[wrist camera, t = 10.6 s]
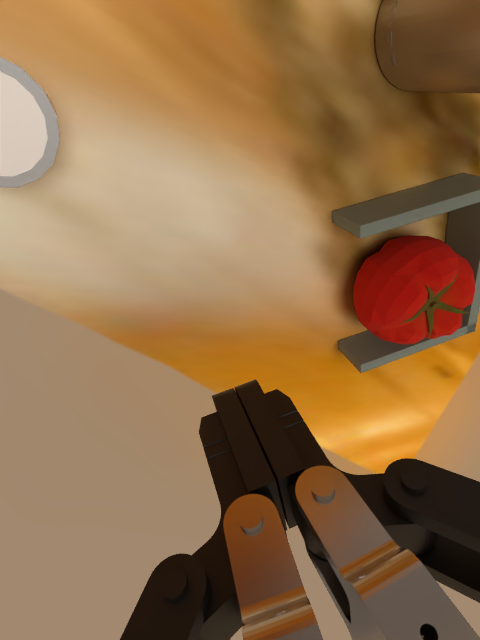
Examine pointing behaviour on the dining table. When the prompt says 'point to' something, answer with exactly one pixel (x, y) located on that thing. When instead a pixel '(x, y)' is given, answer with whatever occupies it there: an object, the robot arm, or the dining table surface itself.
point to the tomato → (413, 290)
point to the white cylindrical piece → (25, 128)
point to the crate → (404, 208)
